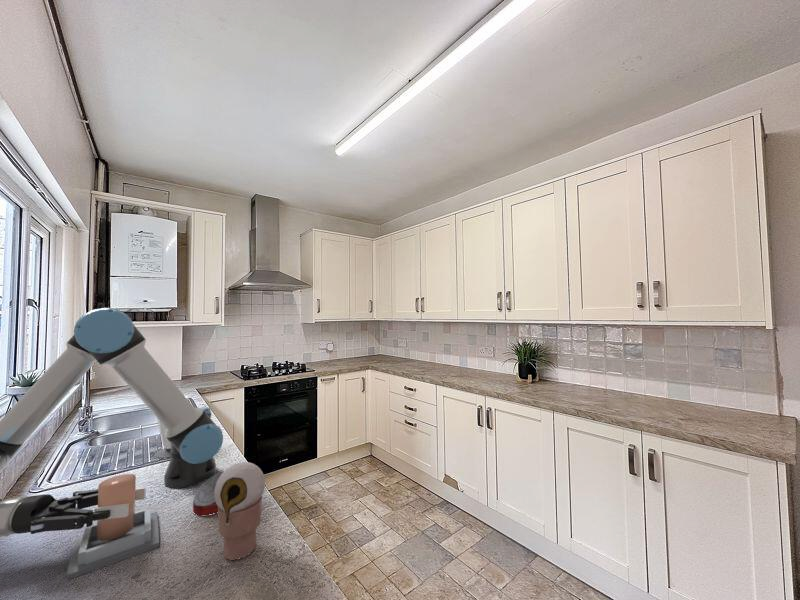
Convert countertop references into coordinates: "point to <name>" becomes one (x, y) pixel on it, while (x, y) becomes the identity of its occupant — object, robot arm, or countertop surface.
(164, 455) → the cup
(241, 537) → the ice cream cone
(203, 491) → the canned food
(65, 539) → the countertop surface
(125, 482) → the peach round cylinder
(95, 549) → the grey rectangular tray
